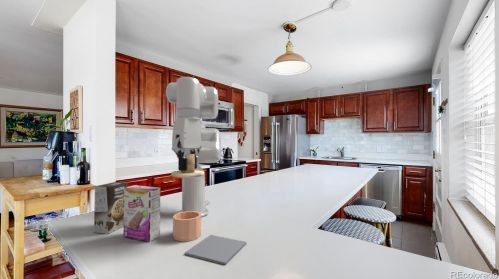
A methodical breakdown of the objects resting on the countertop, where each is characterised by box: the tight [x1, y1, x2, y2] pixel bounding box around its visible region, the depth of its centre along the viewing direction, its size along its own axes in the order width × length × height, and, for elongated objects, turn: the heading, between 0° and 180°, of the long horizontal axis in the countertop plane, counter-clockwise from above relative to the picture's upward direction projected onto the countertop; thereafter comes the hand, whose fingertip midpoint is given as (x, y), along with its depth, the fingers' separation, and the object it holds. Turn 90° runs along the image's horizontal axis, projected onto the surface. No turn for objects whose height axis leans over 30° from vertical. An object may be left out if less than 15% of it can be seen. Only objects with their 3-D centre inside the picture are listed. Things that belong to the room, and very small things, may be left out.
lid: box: [170, 154, 205, 179], centre depth 76 cm, size 11×11×7 cm
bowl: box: [172, 211, 203, 243], centre depth 76 cm, size 9×9×7 cm
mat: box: [184, 234, 247, 266], centre depth 66 cm, size 13×13×1 cm
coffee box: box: [93, 181, 129, 235], centre depth 82 cm, size 9×6×16 cm
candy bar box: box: [123, 184, 161, 243], centre depth 74 cm, size 11×5×16 cm, turn 71°
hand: (187, 168), depth 76 cm, fingers closed on lid, 4 cm apart
